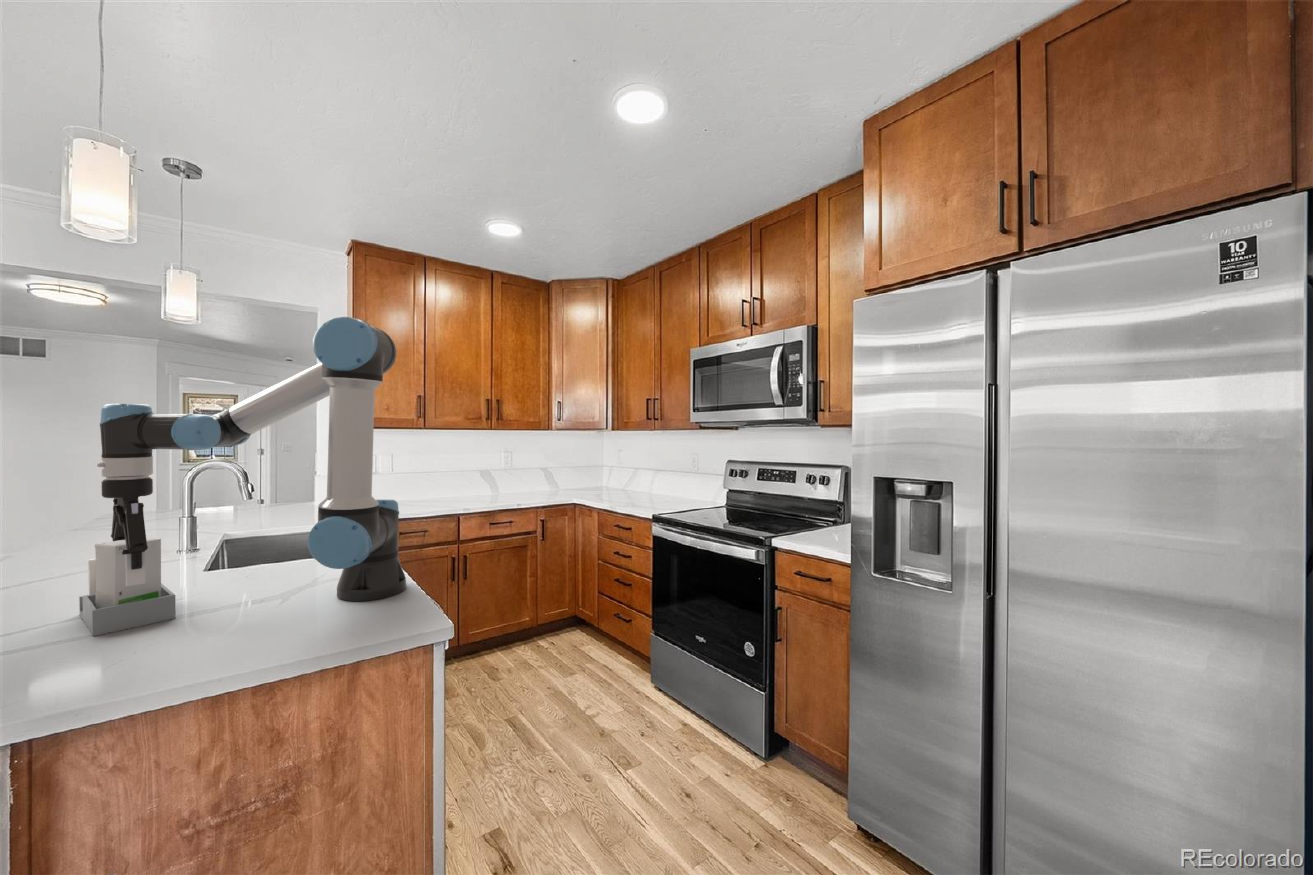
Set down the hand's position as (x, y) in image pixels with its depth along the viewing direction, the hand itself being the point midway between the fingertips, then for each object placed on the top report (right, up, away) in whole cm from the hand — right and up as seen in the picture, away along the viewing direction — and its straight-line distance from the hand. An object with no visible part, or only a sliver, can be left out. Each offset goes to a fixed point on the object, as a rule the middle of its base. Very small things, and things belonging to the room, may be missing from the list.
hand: (129, 578), depth 109 cm
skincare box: (0, -8, +1) cm, 8 cm away
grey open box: (-2, -9, +2) cm, 9 cm away
